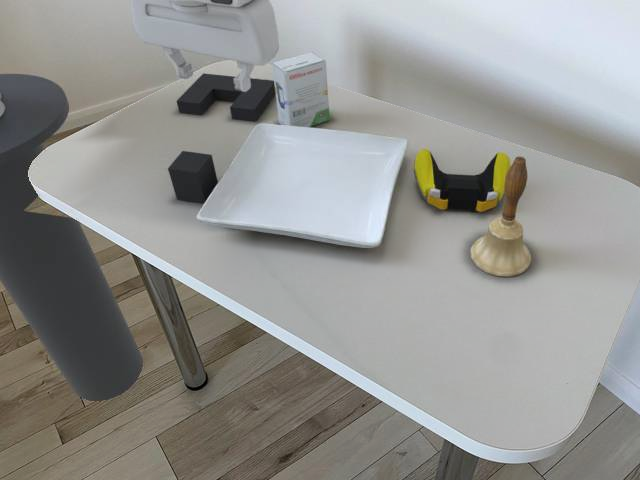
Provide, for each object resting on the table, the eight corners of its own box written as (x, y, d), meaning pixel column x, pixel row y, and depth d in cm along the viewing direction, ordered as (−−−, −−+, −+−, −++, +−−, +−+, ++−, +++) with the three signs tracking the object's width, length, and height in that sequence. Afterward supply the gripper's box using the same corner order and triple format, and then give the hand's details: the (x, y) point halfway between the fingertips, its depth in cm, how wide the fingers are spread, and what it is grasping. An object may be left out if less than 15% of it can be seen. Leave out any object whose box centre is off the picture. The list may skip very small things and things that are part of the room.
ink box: (291, 134, 101) (284, 72, 93) (277, 122, 105) (270, 62, 96) (330, 120, 105) (327, 59, 96) (316, 109, 108) (312, 49, 100)
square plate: (198, 237, 81) (192, 217, 79) (260, 139, 100) (257, 120, 98) (379, 263, 77) (379, 242, 74) (408, 155, 96) (409, 135, 93)
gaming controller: (413, 173, 92) (411, 211, 85) (415, 144, 88) (413, 181, 81) (505, 177, 90) (511, 216, 83) (511, 149, 87) (518, 187, 80)
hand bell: (473, 276, 75) (492, 179, 63) (467, 235, 80) (483, 140, 69) (536, 277, 74) (566, 180, 63) (524, 236, 80) (550, 140, 69)
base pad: (179, 112, 108) (176, 100, 106) (205, 84, 116) (203, 73, 114) (256, 121, 105) (254, 109, 103) (277, 92, 113) (276, 80, 111)
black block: (176, 199, 88) (167, 168, 84) (190, 181, 91) (182, 150, 87) (205, 204, 87) (197, 172, 83) (218, 185, 90) (211, 154, 86)
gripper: (106, -29, 67) (138, 79, 77) (251, -6, 61) (265, 107, 71) (140, -43, 71) (166, 60, 81) (279, -24, 65) (289, 86, 75)
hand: (213, 83), depth 76 cm, fingers open, 8 cm apart
